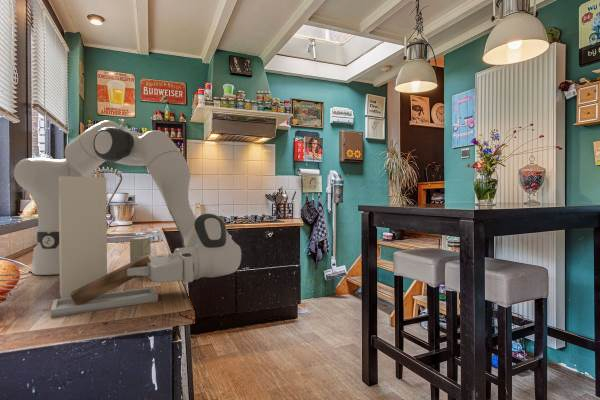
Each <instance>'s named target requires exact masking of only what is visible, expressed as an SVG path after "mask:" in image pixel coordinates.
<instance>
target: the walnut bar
mask: <svg viewBox="0 0 600 400" xmlns="http://www.w3.org/2000/svg"><path fill="white" fill-rule="evenodd" d="M148 262H151V261H150V259H149V257H148V256H147V255H145V256H143V257H141V258H139V259H137V260H135V261H133V262H131V263H130V262H129V263H127V264H125V265H122V266H121V267H119V268H117V269H115V270H113V271H111V272H109V273H107V275H105V276H103V277H101V278H99V279H97V280H95V281H93V282H91V283H89V284H87V285H85V286H83V287H81V288H79V289H77V290H75V291H73V292H71V295H70V296H71V298H72V299H73V301H74V303H75V304H76V305H82V304H85V303H87V302H89V301H91V300H93V299H95V298H97V297H99V296H101V295H102V294H104V293H106V292H107V293H109V292H110V291H112V290H114V289H116V288H118V287H120V286H121V285H124V284H125V283H127V282H129V281H131V280H132V279H135V278H137V277H138V275H134V276H128V275H127V268H131V267H143V266H148V265H147V263H148Z"/></svg>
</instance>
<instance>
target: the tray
mask: <svg viewBox="0 0 600 400" xmlns="http://www.w3.org/2000/svg"><path fill="white" fill-rule="evenodd" d="M157 302H159V294H158V293H157V292H156V290H155V289H154V288H153V287H152V286H151V287H144V288H138V289H137V288H136V289H135V288H134V289H128V290H121V291H113V292H107V293H104V294H102V295H101V296H99V297H97V298H95V299H93V300H91V301H89V302H87V303H85V304H82V305H76V304H75V303H74V301H73V299H72V298H65V299H61V298H59V299H53V301H52V304H51V308H50V318H55V317H62V316H68V315H75V314H76V315H77V314H82V313H88V312H95V311H102V310H107V309H116V308H121V307H129V306H135V305H141V304H149V303H157Z"/></svg>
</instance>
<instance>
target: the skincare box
mask: <svg viewBox="0 0 600 400" xmlns="http://www.w3.org/2000/svg"><path fill="white" fill-rule="evenodd" d="M151 254H152V252H151V237H150V236H141V237H140V236H139V237H138V236H137V237H133V238H129V260H130V261H129V263H131V262H133V261H135V260H137V259H139V258H141V257H142V256H145V255H151Z"/></svg>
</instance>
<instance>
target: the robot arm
mask: <svg viewBox="0 0 600 400" xmlns="http://www.w3.org/2000/svg"><path fill="white" fill-rule="evenodd" d="M64 157H65V158H61V159H58V158H57V159H56V158H47V157H29V158H23V159H21V160H20V161H18V162H17V164H16V165H15V167H14V169H13V175H14V176H13V177H14V180H15V181H16V183H17V184H18V185H19V186H20V188H22V189H24V190H25V191H26V192H27V193H28V194H29V196H31V198H32V200H33V201H34V204H35V206H36V212H37V224H38V226H37V228H38V231H37V232H36V242H37V245H35V247H34V248H33V253H32V262H31V269H32V275H36V276H37V275H38V276H53V275H60V255H59V177H60V176H69V177H96V176H95V170H96V169H97V168H98V167H100V166H101V165H102V164H103V163H105V162H109V163H116V164H121V165H124V166H134V167H143V168H146V169H147V171H148V172H149V174H150V176H151V177H152V179H153V181H154V183H155V185H156V186H157V188H158V190H159V192H160V195H161V196H162V198H163V200H164V203H165V205H166V207H167V209H168V211H169V214H170V216H171V217H172V221H173V222H174V224H175V227H176V228H177V230H178V232H179V235H180V239H181V242H182V243H181V246H182V247H176V248H175V249H174V251H173V253H169V254H152V255H147V256H148V257H149V259H150V261H151V262H148V263H147V265H148V266H143V267H131V268H127V275H128V276H134V275H138V276H139V277H141V276H142V277H145V276H147V277H148V278H149V279H150V280H151V281H152V282H153V283H174V282H175V283H176V282H178V283H179V282H183V283H187V284H188V283H193V281H194V280H199V279H200V278H216V277H222V276H226V275H231V274H233V273H235V272H236V271H238V269H239V267H240V266H241V262H242V258H243V257H242V249H241V246H240V245H239V244H237V243H236V242H235V241H234V240H233V239H232V237H231V236H230V233H229V232H228V230H227V226H226V224H225V220H223V219H222V218H221V217H220V216H218V215H217V214H213V213H203V214H200V215H199V216H198V217H196V215H195V214H194V212H193V211H194V210H192V207H191V205H190V201H189V187H190V183H191V182H190V181H191V170H190V167H189V165H188V162H187V160H186V158H185V157H184V156H183V154H182V152H181V151H180V149H179V148H178V146H177V145H176V144H175V142H174V141H173V140H172V139H171V138H170V137H169V135H167V134H166V133H165V132H164V131H162V130H156V129H154V130H149V131H146V132H145V133H142V132H138V131H135V130H129V129H125V128H124V129H123V127H122V126H121V125H120V124H118V123H117V122H116V121H113V120H103V121H100V122H97V123H96V124H94V125H92V126H91V127H89V128H87V129H86V130H84V131H83V132H82V133H80V134H79V135H78V136H76V137H75V138H74V139H72V140H71V141H70V142H69V143H68V144H67V145H66V146H65V148H64ZM142 257H143V256H142ZM138 276H137V277H138Z"/></svg>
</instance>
